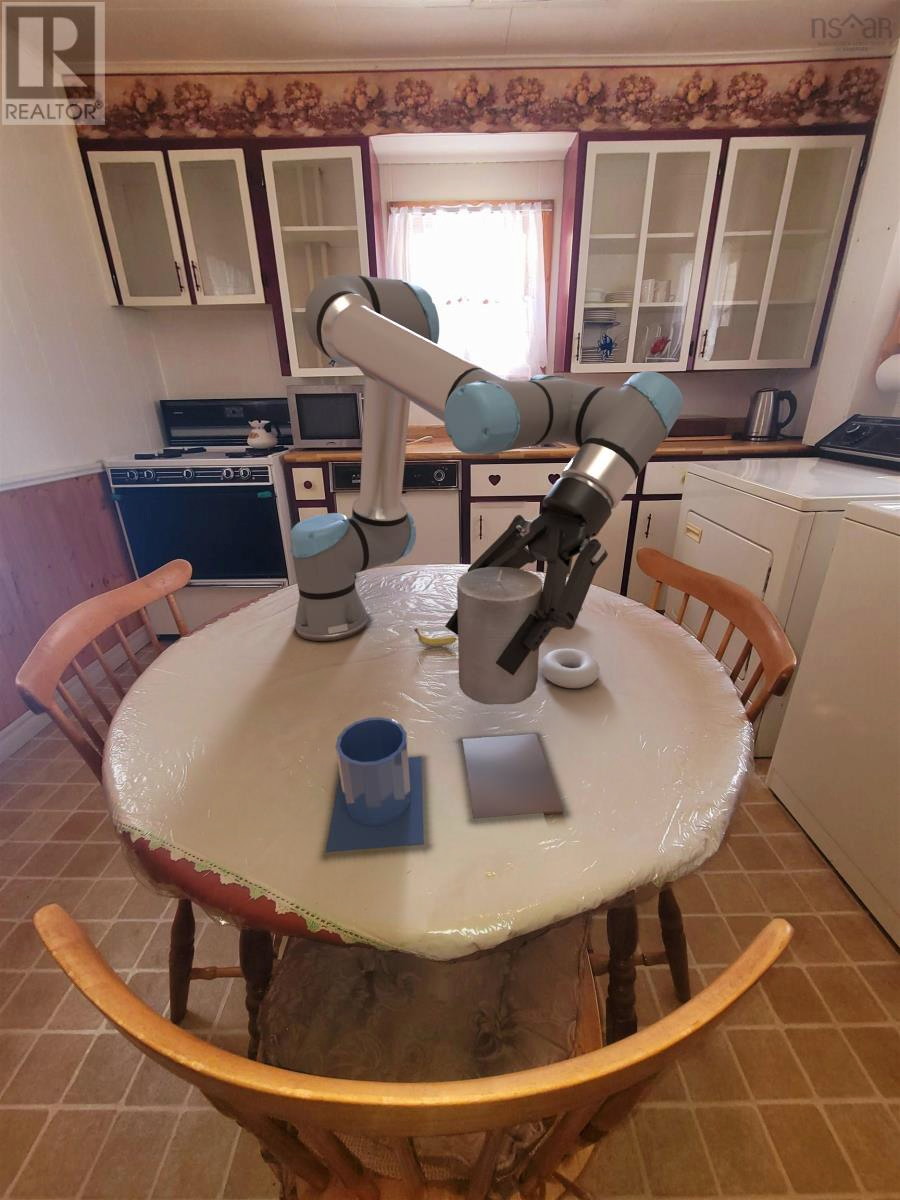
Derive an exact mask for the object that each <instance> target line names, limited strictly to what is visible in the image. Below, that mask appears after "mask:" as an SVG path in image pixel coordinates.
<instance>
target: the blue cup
mask: <svg viewBox="0 0 900 1200" xmlns="http://www.w3.org/2000/svg"><path fill="white" fill-rule="evenodd" d="M335 752H336V758H337V766H338V771H339V775H340V778H341V784H342V791H343V797H344V802H345V806H346V810H347V813H348V814H349V816H350V817H351V818H352V819H353V820H354V821H356V822H358V823H360V824H362V825H367V826H380V825H385V824H388V823H391V822H393V821H395V820H396V819H398V818H399V817H400V816H402V815H403V814H404V812H405V811H406V810H407V808H408V807H409V804H410V801H411V781H410V768H409V757H410V756H409V745H408V733H407V731H406V730H405V727H404V726H403V725H402V724H401V723H399V722H398V721H396V720H394V719H392V718H387V717H382V716H376V717H366V718H363V719H360V720H357V721H354V722H352V723H351V724H350V725H348V726H346V727H344V729H343V730H342V731H341V733H340V734H339V735H338V736H337V737H336V743H335Z"/></svg>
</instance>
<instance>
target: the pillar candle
mask: <svg viewBox="0 0 900 1200" xmlns="http://www.w3.org/2000/svg"><path fill="white" fill-rule="evenodd" d="M542 590H543V581H542V579H541V578H540V577H539V576H538V575H536V573H533V572H531V571H528V570H525V569H522V568H520V569H517V568H511V567H487V568H479V569H475V570H471V571H469V572H465V573H464V574H462V575H461V576H460V577H458V580H457V582H456V595H457V596H456V598H457V600H456V601H457V603H456V604H457V608H458V635H457V646H458V647H457V648H458V649H457V650H458V651H457V654H458V659H457V660H458V663H457V664H458V685H459V688H460V690H461V692H462V693H463V694H464V695H465V696H467V698H469V699H470V700H472V701H474V702H477V703H479V704H482V705H488V706H493V705H515V704H520V703H522V702H524V701H526V700H528V699H529V698H530V697H532V696H533V694H534V693H535V691H536V687H537V683H538V681H539V678H538V677H539V657H540V647H539V648H538V649H537V650H536V651H534V652H533V651H532V650H531V651H530V653H529V654H528V655H527V657H526V658H525V660H524V661H523V663H522V664H521V665H520V667H519V668H518V670H517V671H516V673H515V674H514V675H511V674H510V673H509V672H507V671H506V670H504V669H503V668H501V667H500V666H499V665H497V664H496V661H497V660H498V659H499V657H500V656H501V654H502V653H503V651H504V650H505V649H506V647H507V646H508V644H509V643H510V641H511V640H512V639H513V637H514V636H515V634H516V633H517V631H518V630H519V629H520V627H521V626H522V624H523V623H524V621H525V620H526V619H527V617H528V616H529V614H532V615H534V616H535V617H537V618H539V617H538V616H537V615H535V613H534V611H536V610H539V605H540V600H541V595H542ZM536 612H537V611H536Z"/></svg>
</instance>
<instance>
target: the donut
mask: <svg viewBox="0 0 900 1200" xmlns="http://www.w3.org/2000/svg"><path fill="white" fill-rule="evenodd" d="M540 663H541V664H540V668H541V673H542V675H543V676H544V677H545V679H546V680H548V681H549V682H551V683H552V684H554V685H556V686H559V687H561V688H566V689H580V688H581V689H582V688H585V687H588V686H590V685H592V684H594V683H595V681H596V680H597V679H598V678H599V675H600V665H599V663H598V661H597V660H596V659H595V657H593V656H592V655H591V654H589V653H588V652H585V651H583V650H580V649H577V648H558V649H554V650H552V651H550V652H548V653H546V655H544V657H543V658H542V661H541V662H540Z"/></svg>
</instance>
